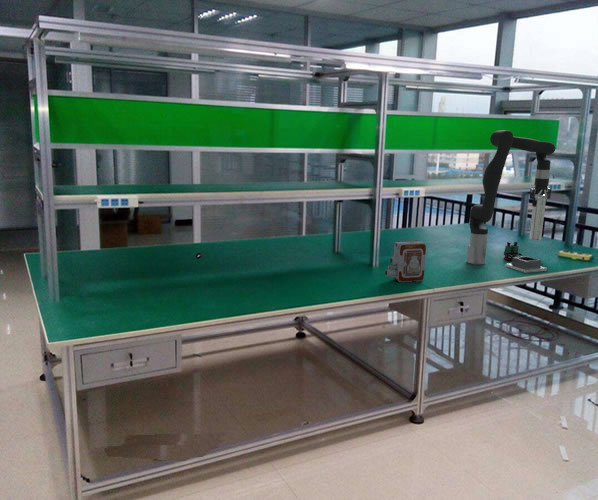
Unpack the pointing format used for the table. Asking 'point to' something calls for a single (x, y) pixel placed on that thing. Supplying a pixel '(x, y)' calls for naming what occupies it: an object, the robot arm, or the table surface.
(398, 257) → the cine camera
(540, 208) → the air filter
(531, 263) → the mount
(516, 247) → the binoculars
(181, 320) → the table surface
